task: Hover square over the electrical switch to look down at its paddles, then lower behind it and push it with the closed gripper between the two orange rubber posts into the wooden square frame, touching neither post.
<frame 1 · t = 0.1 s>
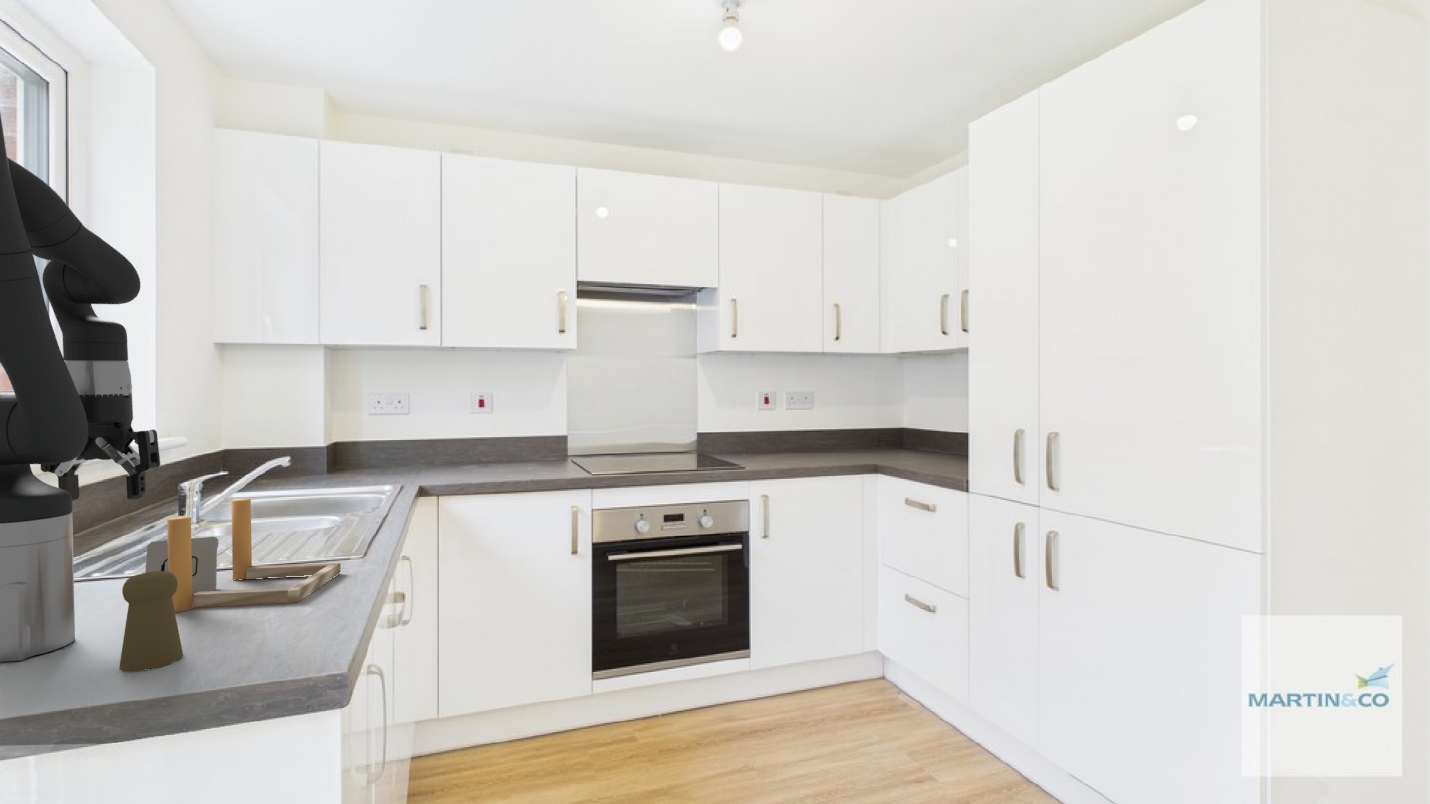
hand: (103, 499, 99), 17 cm above the countertop, tool pointing down, fingers open, 8 cm apart
post right: (242, 578, 118), on the countertop
wooden square frame: (268, 589, 111), on the countertop
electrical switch: (182, 594, 110), on the countertop
post left: (180, 609, 101), on the countertop
cork: (152, 663, 82), on the countertop
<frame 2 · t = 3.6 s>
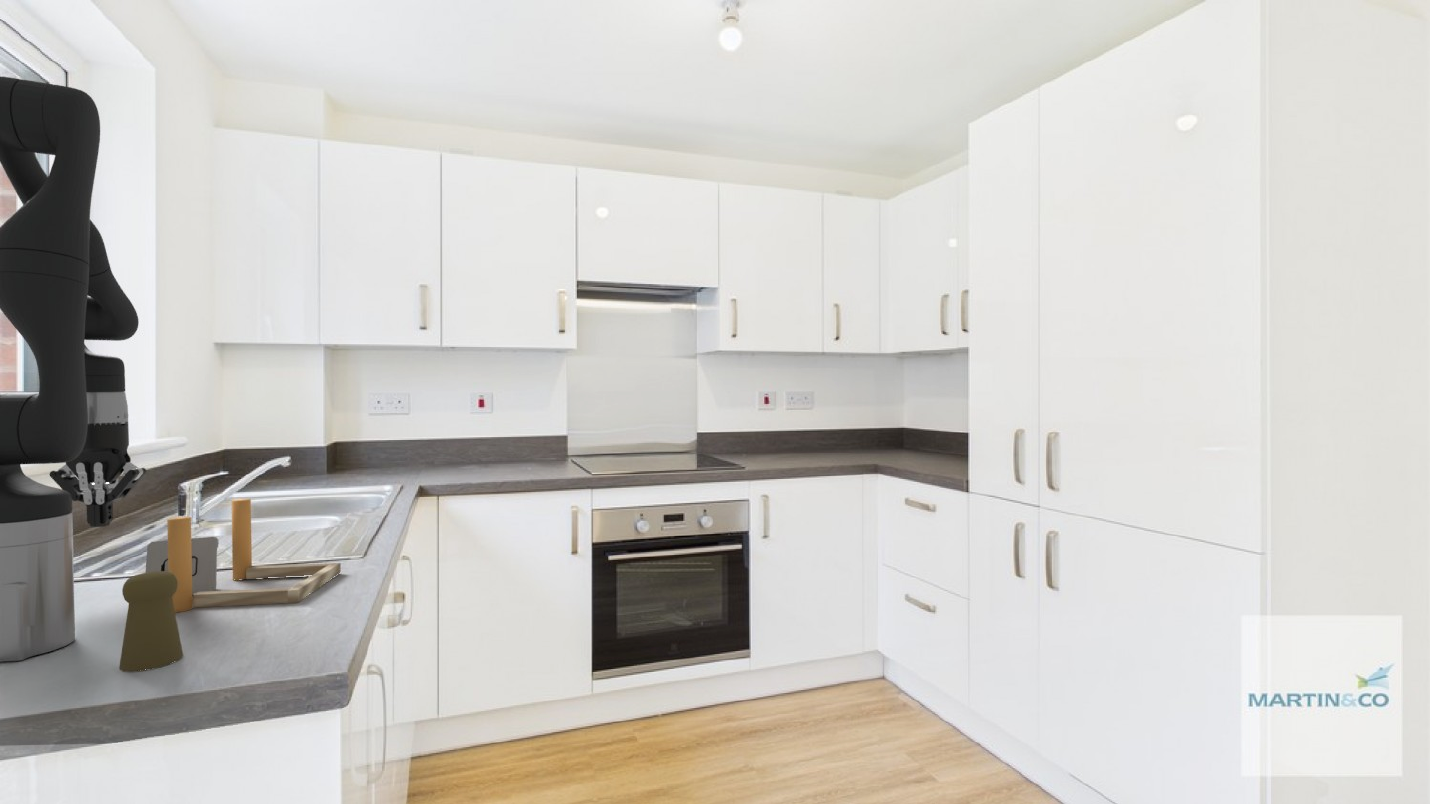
hand: (100, 526, 108), 12 cm above the countertop, tool pointing down, fingers closed
nothing on the countertop moved.
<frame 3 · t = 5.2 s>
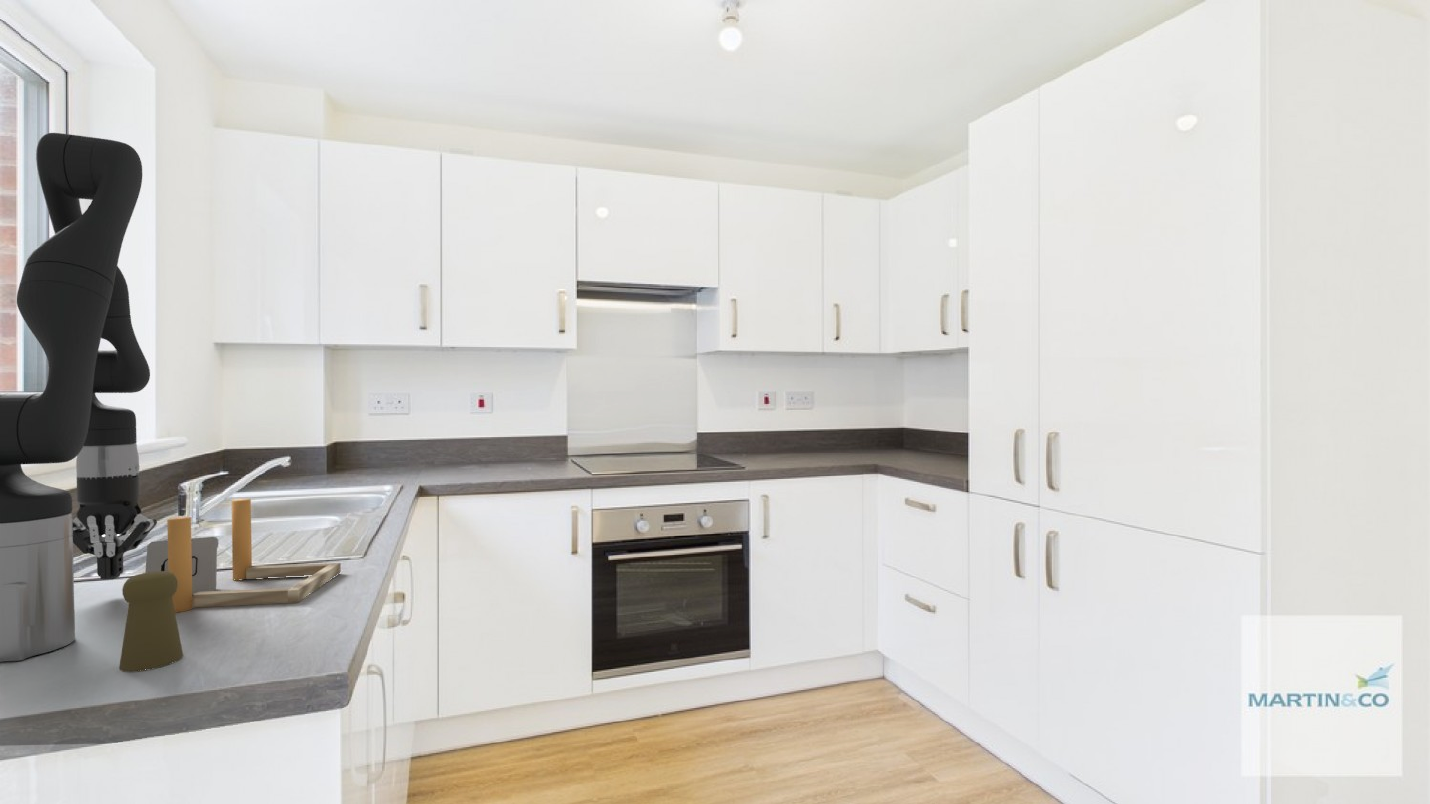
hand: (110, 578, 108), 3 cm above the countertop, tool pointing down, fingers closed
nothing on the countertop moved.
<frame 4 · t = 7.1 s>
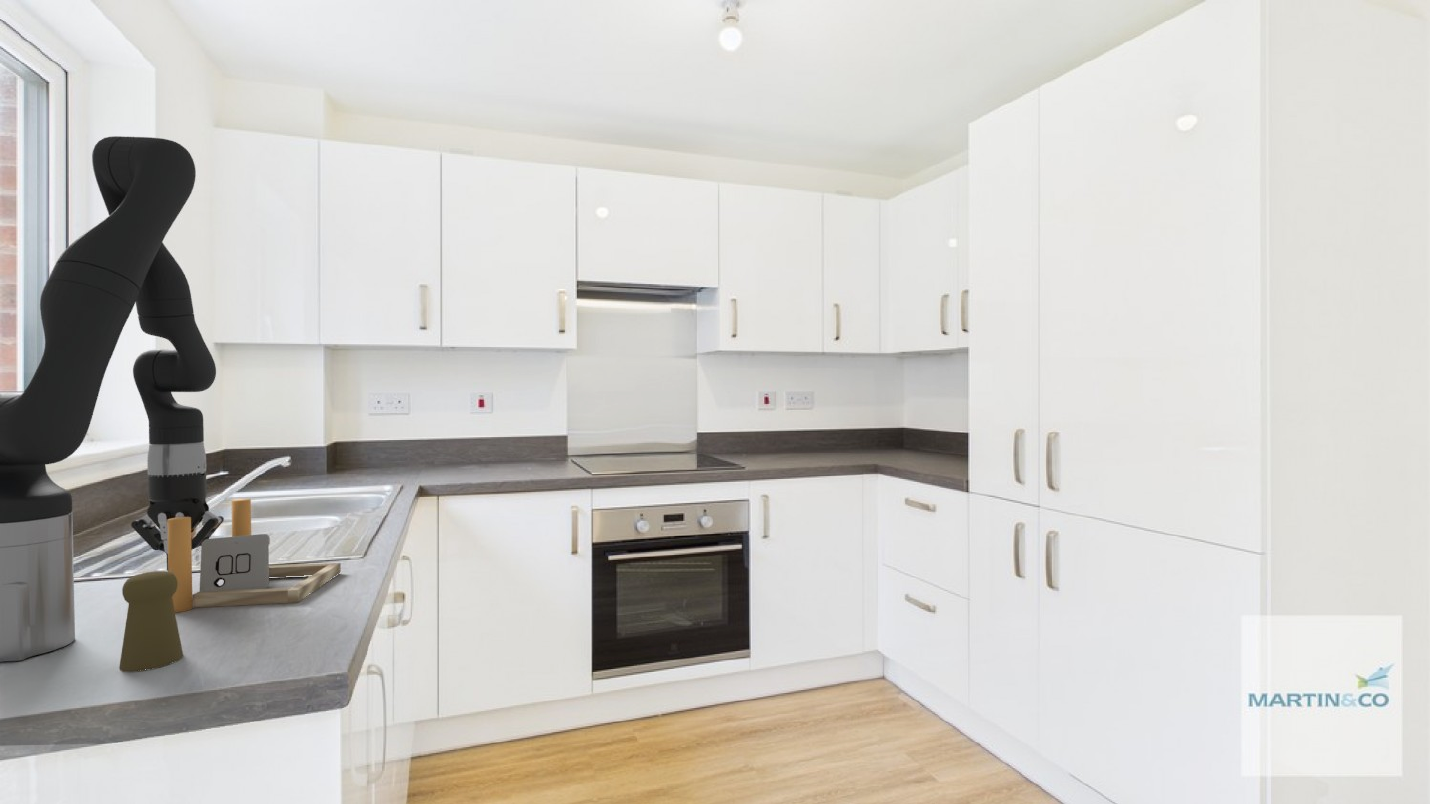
hand: (179, 574, 110), 3 cm above the countertop, tool pointing down, fingers closed
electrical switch: (235, 591, 111), on the countertop, touching hand
everything else where it was.
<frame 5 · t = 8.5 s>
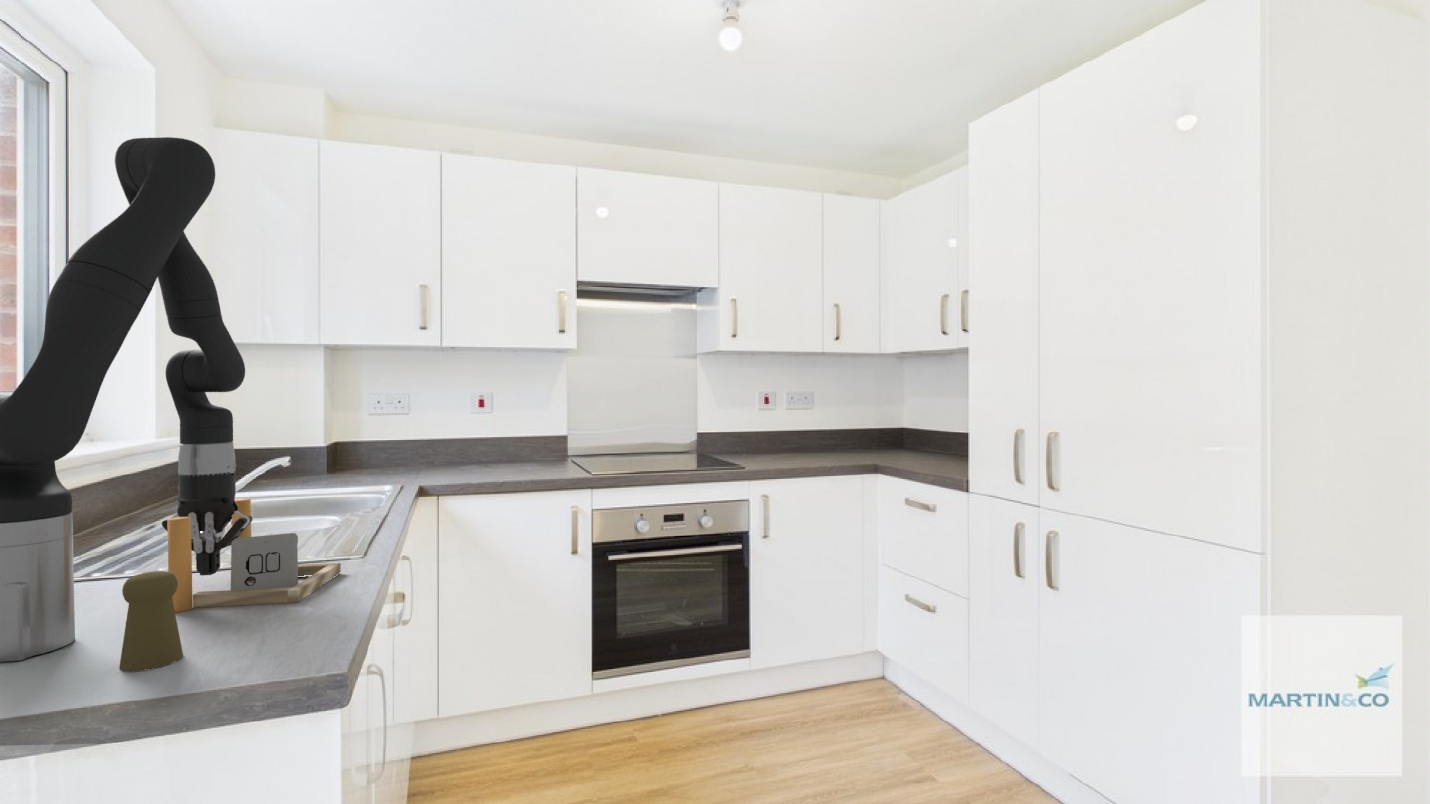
hand: (208, 574, 110), 3 cm above the countertop, tool pointing down, fingers closed
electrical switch: (264, 590, 112), on the countertop, touching hand
everything else where it was.
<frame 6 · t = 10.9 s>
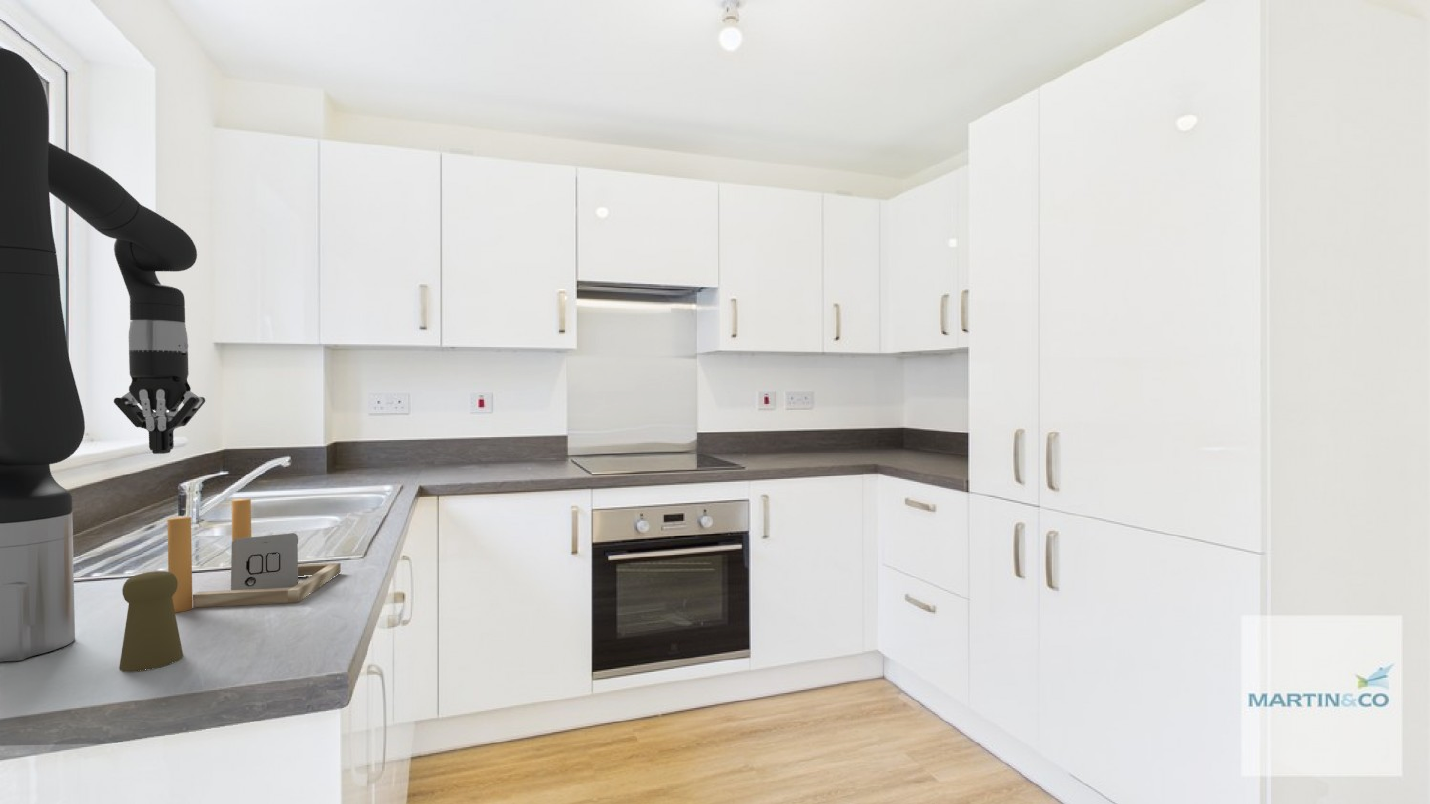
hand: (161, 453, 110), 23 cm above the countertop, tool pointing down, fingers closed
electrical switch: (264, 590, 112), on the countertop
everything else where it was.
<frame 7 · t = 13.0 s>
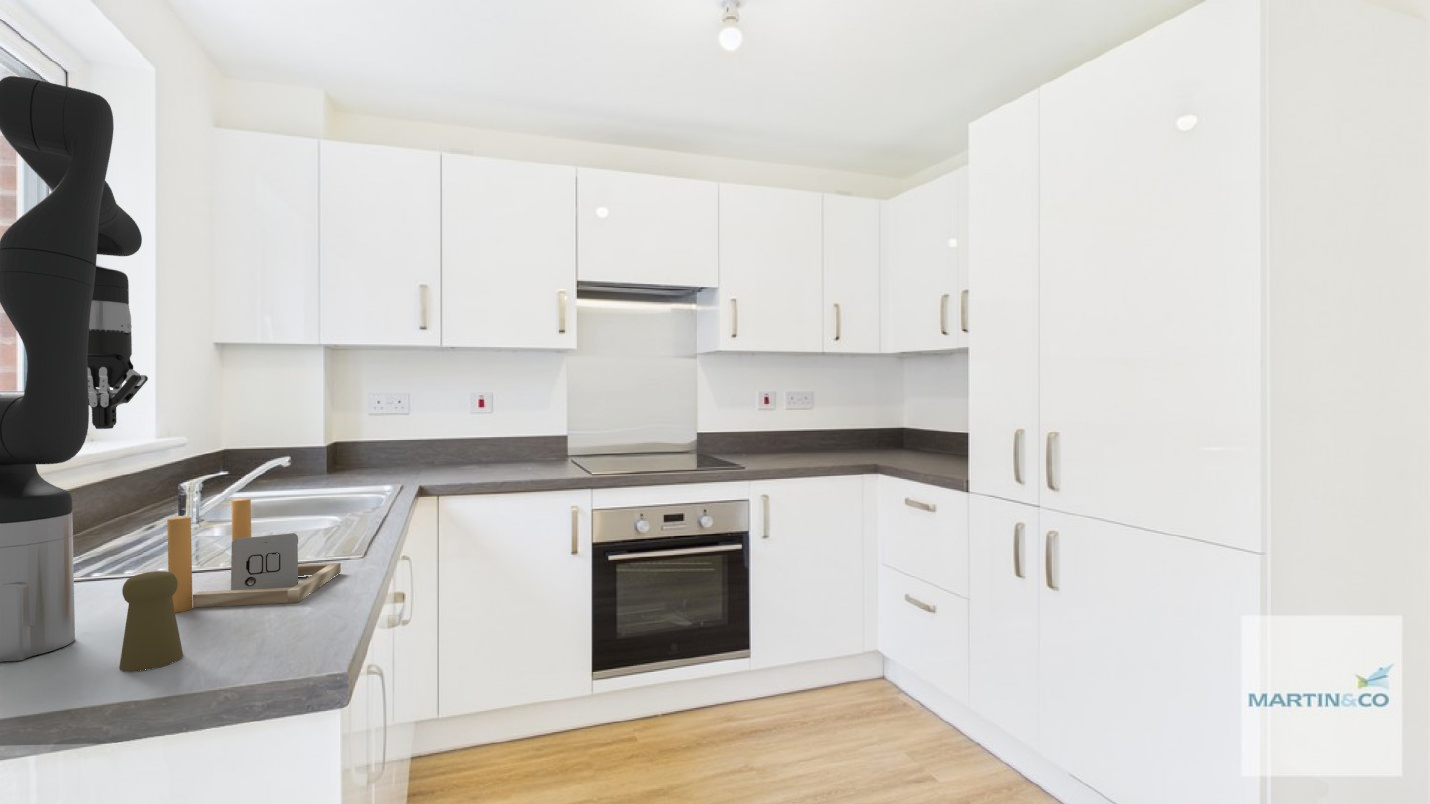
hand: (104, 428, 115), 27 cm above the countertop, tool pointing down, fingers closed
nothing on the countertop moved.
at the end: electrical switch inside the target area on the wooden square frame (1.3 cm from its centre), point 0.0 cm above the wooden square frame's base; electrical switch moved 12.3 cm from its start; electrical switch tilted 2° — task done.
